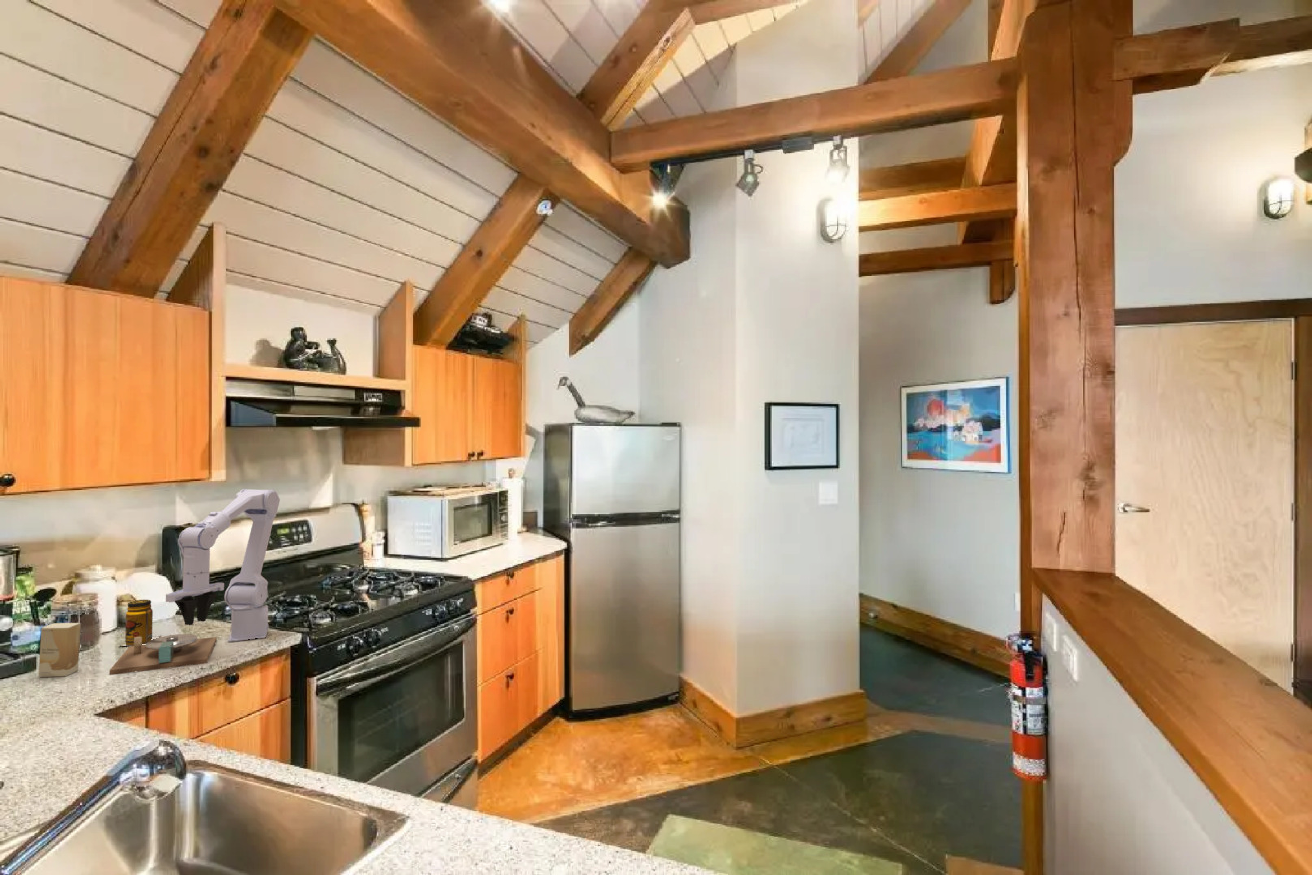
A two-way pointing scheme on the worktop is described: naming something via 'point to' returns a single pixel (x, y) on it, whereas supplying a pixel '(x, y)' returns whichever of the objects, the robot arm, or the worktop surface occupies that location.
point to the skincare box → (59, 649)
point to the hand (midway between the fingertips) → (195, 622)
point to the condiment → (139, 621)
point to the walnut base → (149, 659)
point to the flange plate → (170, 645)
